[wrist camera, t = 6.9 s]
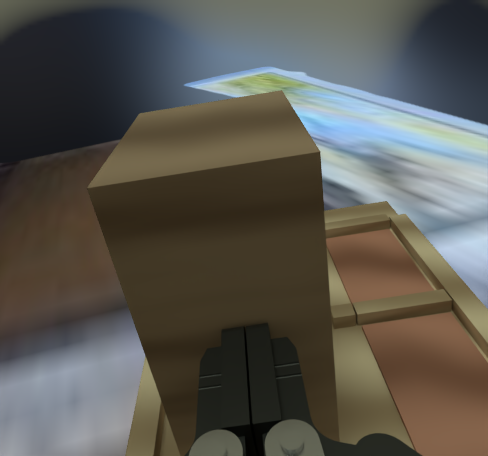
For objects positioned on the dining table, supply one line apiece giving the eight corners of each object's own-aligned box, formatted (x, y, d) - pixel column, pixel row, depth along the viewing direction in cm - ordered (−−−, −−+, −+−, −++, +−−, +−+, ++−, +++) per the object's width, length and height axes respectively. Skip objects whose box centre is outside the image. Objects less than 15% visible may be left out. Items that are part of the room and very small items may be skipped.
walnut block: (341, 466, 17) (320, 151, 11) (191, 486, 17) (86, 188, 11) (306, 328, 24) (281, 90, 18) (200, 344, 24) (139, 113, 18)
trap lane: (705, 619, 13) (781, 524, 10) (100, 698, 13) (38, 626, 11) (385, 210, 37) (386, 154, 34) (176, 243, 37) (163, 190, 35)
